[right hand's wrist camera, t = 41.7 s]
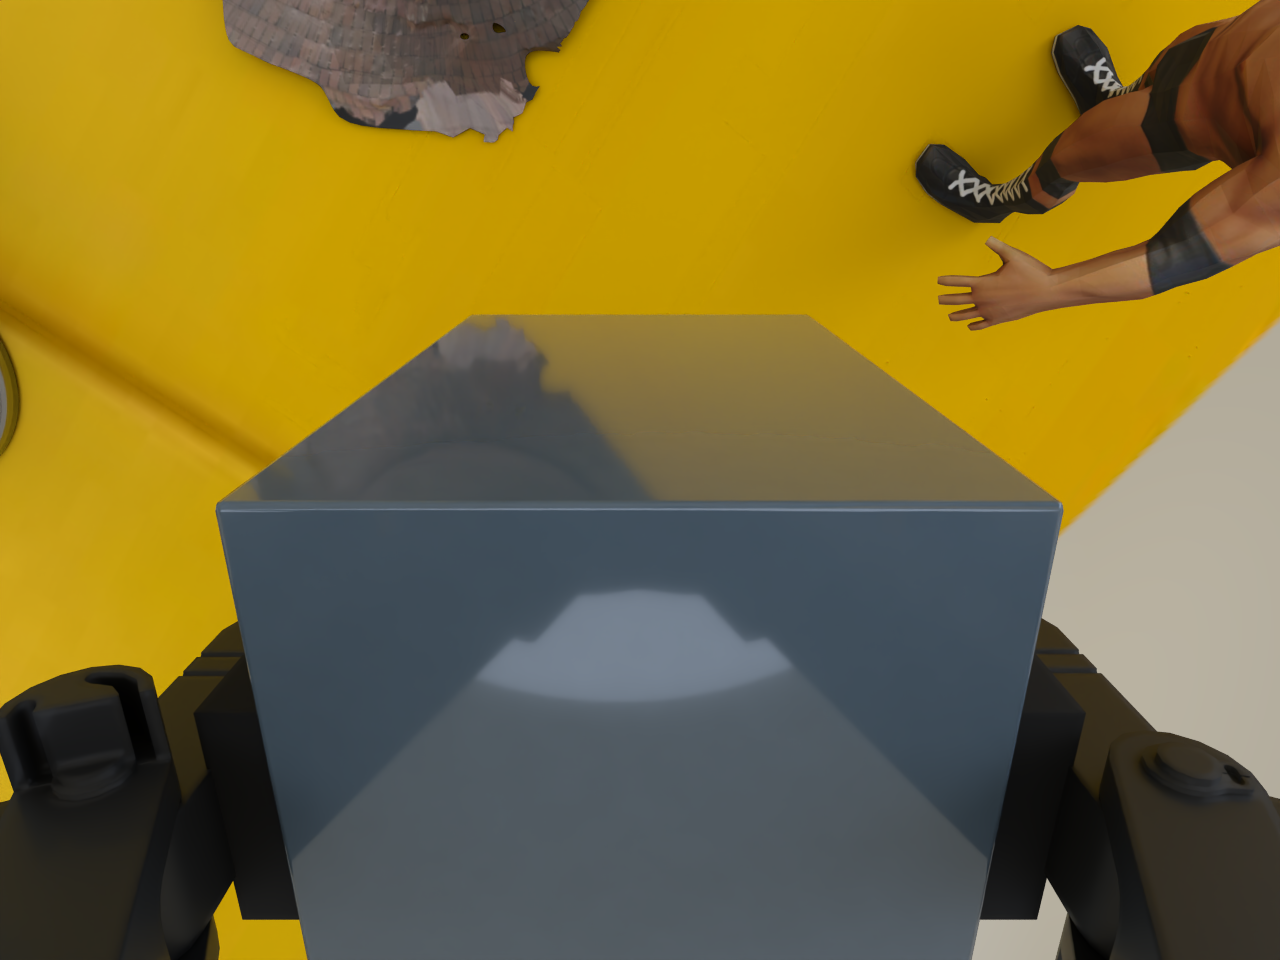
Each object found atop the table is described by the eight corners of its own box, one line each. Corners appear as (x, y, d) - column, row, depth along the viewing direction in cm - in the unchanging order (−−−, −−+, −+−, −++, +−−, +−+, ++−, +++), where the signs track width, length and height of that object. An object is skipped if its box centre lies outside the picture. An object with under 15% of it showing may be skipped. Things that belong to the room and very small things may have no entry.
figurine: (1183, -81, 41) (2335, -658, 13) (1237, 22, 43) (2365, -298, 15) (814, 235, 47) (1075, 300, 19) (875, 315, 49) (1198, 484, 20)
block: (786, 628, 19) (945, 1102, 9) (493, 628, 19) (334, 1102, 9) (809, 314, 16) (1069, 502, 7) (469, 314, 16) (210, 503, 7)
